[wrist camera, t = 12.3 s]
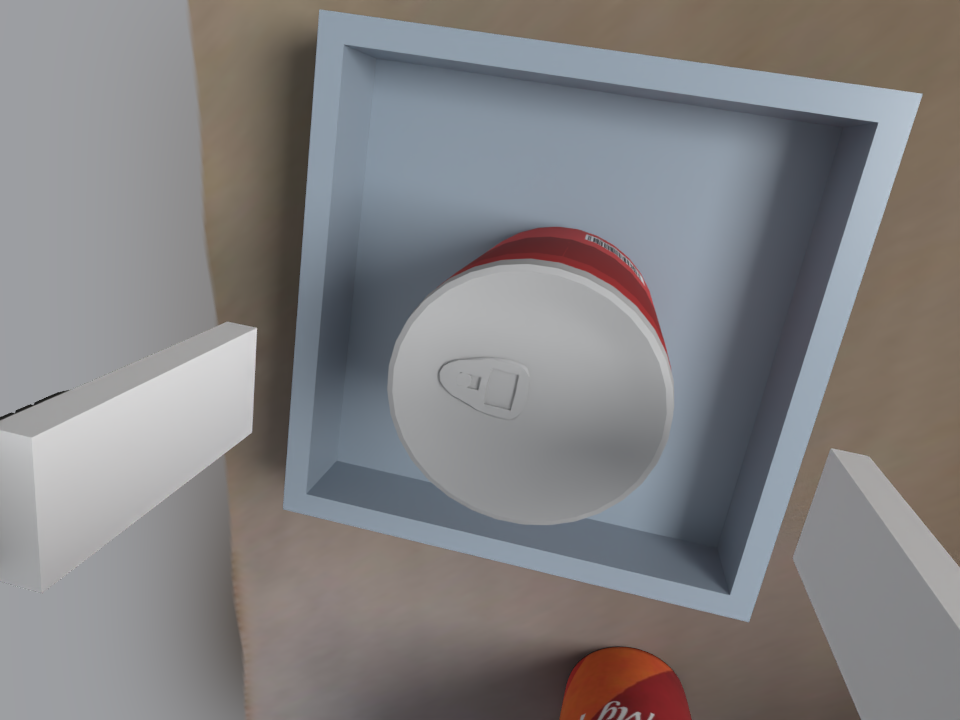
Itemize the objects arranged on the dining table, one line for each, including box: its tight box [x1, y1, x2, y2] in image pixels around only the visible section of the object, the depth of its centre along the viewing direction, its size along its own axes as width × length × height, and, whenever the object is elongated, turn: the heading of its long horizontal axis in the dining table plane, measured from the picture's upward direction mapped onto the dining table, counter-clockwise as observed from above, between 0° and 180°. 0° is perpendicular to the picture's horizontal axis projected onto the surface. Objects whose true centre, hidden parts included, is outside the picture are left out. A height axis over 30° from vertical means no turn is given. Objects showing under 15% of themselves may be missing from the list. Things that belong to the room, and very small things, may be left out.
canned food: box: [387, 227, 674, 525], centre depth 24 cm, size 8×8×11 cm
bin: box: [283, 10, 922, 622], centre depth 28 cm, size 20×20×4 cm
